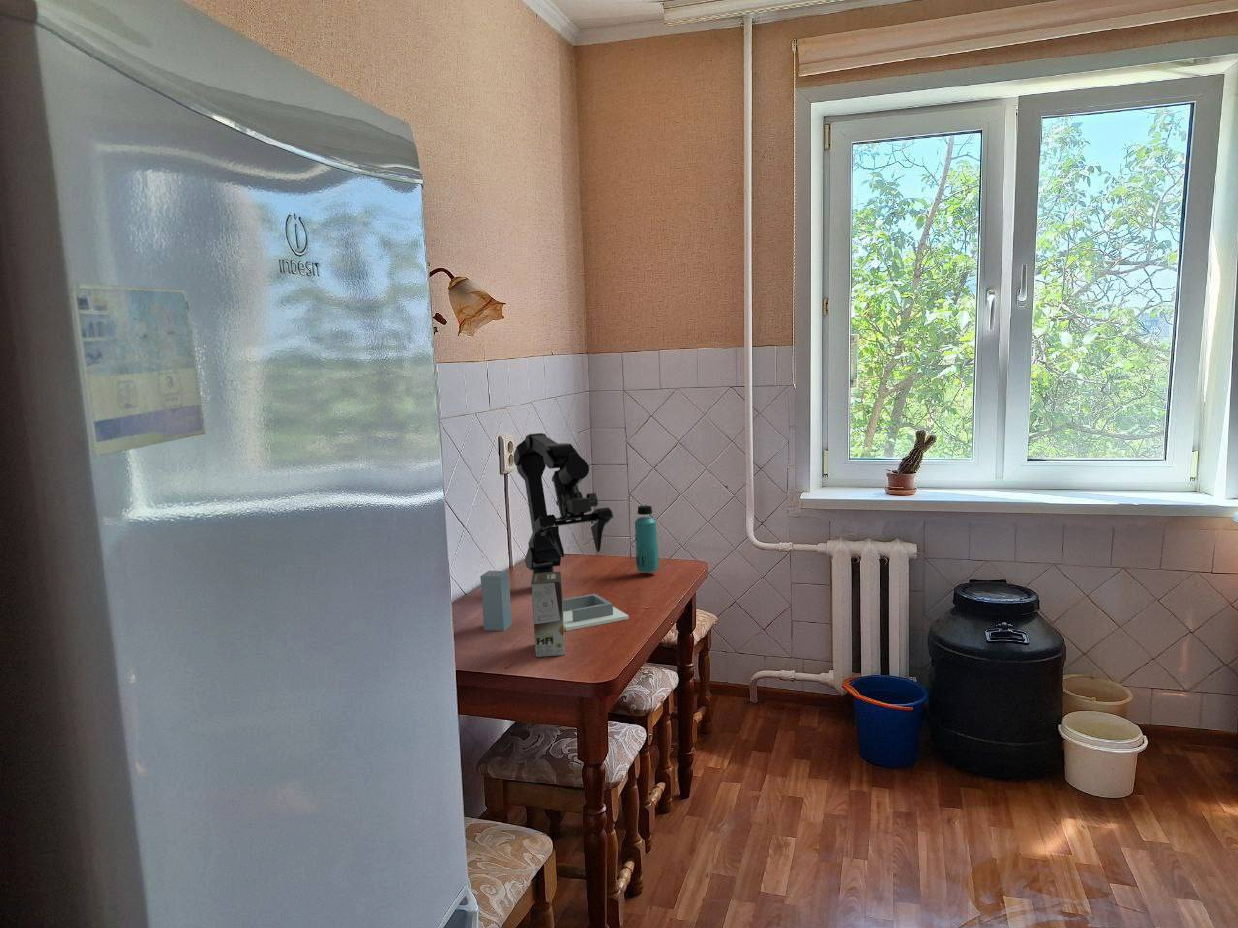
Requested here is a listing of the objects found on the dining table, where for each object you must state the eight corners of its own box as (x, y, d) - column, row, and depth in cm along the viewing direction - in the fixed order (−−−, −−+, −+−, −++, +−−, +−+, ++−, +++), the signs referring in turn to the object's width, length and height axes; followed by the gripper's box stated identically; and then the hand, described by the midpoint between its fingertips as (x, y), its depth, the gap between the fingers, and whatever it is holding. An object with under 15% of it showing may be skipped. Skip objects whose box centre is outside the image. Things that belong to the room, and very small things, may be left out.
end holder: (542, 613, 205) (542, 599, 205) (601, 602, 212) (601, 589, 211) (566, 630, 191) (565, 616, 190) (628, 618, 197) (628, 604, 197)
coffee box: (565, 655, 175) (561, 581, 173) (535, 657, 174) (530, 583, 172) (564, 641, 184) (560, 570, 182) (536, 643, 183) (531, 572, 181)
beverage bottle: (662, 572, 239) (659, 503, 236) (655, 578, 233) (652, 508, 230) (640, 571, 241) (637, 503, 238) (633, 577, 235) (630, 507, 232)
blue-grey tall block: (492, 623, 199) (488, 570, 197) (511, 623, 198) (508, 570, 196) (484, 629, 194) (480, 576, 193) (504, 630, 193) (500, 576, 191)
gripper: (540, 486, 192) (553, 551, 187) (613, 478, 199) (628, 540, 195) (528, 501, 201) (540, 563, 197) (598, 492, 209) (612, 552, 204)
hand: (581, 554), depth 198 cm, fingers open, 9 cm apart
